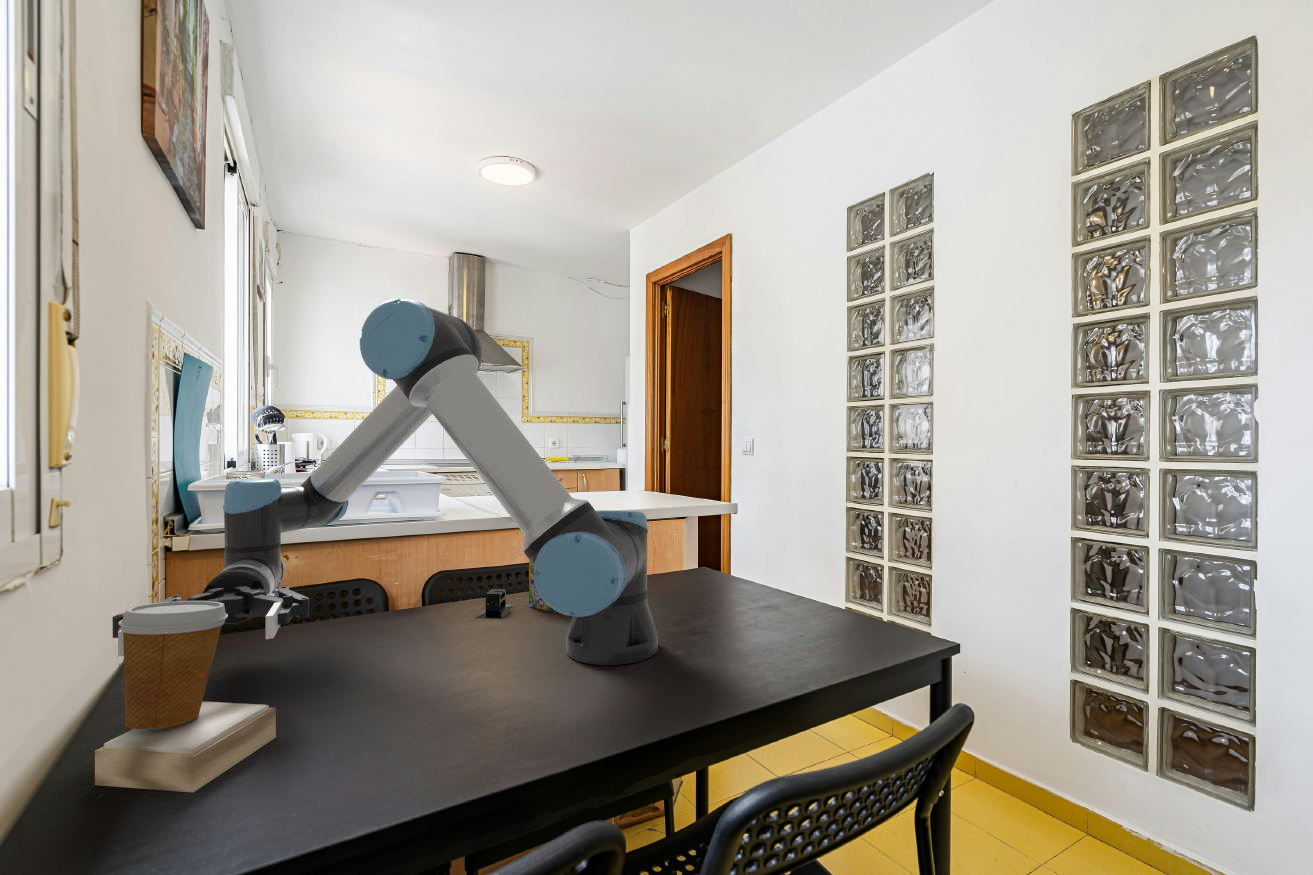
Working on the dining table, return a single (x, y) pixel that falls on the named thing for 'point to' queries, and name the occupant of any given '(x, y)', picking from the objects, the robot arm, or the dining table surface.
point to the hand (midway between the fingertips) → (198, 635)
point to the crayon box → (536, 593)
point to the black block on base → (495, 604)
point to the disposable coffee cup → (168, 660)
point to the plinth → (186, 748)
